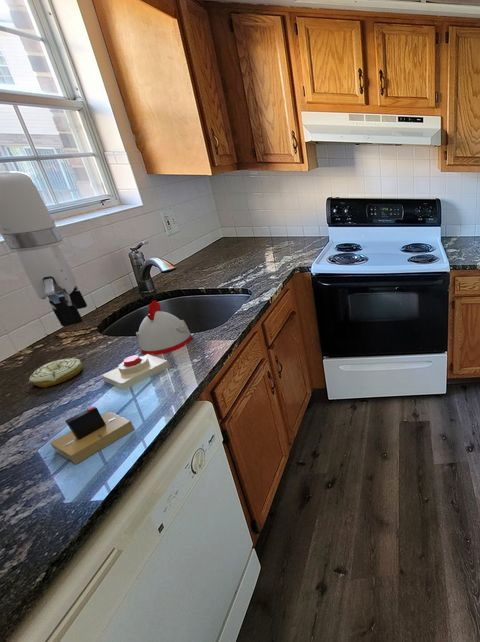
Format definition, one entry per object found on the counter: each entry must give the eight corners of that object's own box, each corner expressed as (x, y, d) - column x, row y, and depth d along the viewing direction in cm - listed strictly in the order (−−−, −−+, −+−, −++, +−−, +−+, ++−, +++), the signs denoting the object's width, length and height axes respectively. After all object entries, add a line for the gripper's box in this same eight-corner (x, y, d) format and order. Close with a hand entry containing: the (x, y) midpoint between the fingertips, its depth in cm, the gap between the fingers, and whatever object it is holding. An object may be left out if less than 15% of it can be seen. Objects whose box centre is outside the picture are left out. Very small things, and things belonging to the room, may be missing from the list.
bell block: (124, 390, 99) (118, 378, 98) (104, 381, 103) (98, 370, 101) (170, 366, 109) (165, 355, 107) (150, 359, 113) (145, 348, 111)
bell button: (129, 368, 102) (127, 363, 102) (122, 365, 104) (120, 360, 103) (143, 361, 105) (141, 356, 105) (136, 359, 107) (134, 354, 106)
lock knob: (79, 440, 79) (67, 421, 77) (75, 438, 80) (64, 419, 78) (106, 424, 84) (96, 407, 81) (102, 423, 84) (92, 405, 82)
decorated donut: (22, 389, 101) (15, 378, 99) (59, 367, 110) (53, 356, 109) (60, 388, 101) (53, 377, 99) (93, 366, 110) (88, 355, 109)
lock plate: (76, 464, 77) (70, 455, 75) (54, 451, 80) (48, 442, 79) (135, 429, 86) (130, 420, 84) (113, 418, 89) (108, 410, 88)
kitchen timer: (197, 331, 129) (183, 292, 123) (184, 350, 117) (168, 308, 111) (151, 337, 125) (134, 298, 119) (133, 358, 114) (113, 316, 107)
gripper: (16, 234, 76) (57, 308, 83) (-6, 252, 63) (44, 337, 71) (66, 228, 80) (101, 299, 87) (53, 243, 67) (95, 324, 75)
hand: (75, 316), depth 79 cm, fingers open, 9 cm apart
